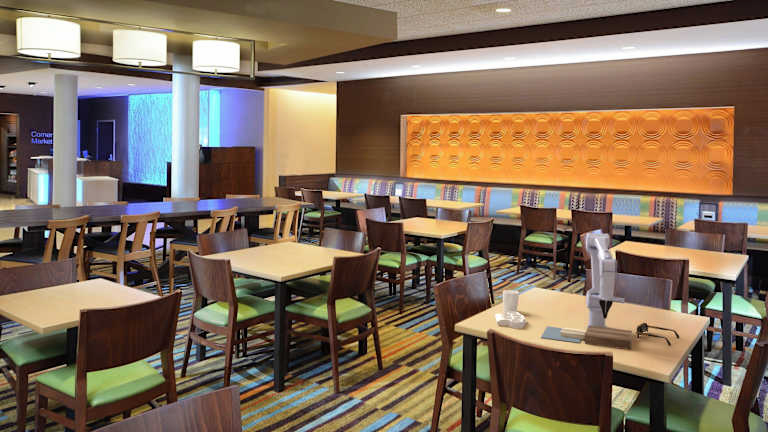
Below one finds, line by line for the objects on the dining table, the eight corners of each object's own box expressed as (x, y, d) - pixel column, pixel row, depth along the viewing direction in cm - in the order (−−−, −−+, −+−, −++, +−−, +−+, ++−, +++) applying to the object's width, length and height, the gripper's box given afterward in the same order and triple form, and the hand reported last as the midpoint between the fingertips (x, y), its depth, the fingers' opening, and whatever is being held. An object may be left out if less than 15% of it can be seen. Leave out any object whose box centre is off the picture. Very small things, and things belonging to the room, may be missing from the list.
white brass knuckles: (494, 317, 294) (524, 318, 292) (497, 328, 276) (530, 329, 274) (494, 310, 293) (525, 311, 292) (497, 321, 275) (530, 322, 274)
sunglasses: (670, 347, 254) (671, 335, 253) (633, 339, 263) (634, 328, 263) (679, 339, 265) (680, 328, 264) (643, 332, 274) (643, 321, 274)
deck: (587, 332, 270) (588, 325, 270) (631, 338, 263) (631, 330, 263) (584, 343, 255) (585, 335, 255) (630, 349, 248) (631, 341, 248)
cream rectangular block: (562, 331, 270) (562, 327, 269) (585, 334, 266) (586, 330, 265) (560, 336, 263) (560, 331, 263) (584, 339, 259) (584, 334, 259)
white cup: (518, 309, 307) (519, 290, 306) (517, 313, 299) (518, 294, 298) (502, 308, 309) (503, 289, 308) (501, 312, 302) (502, 292, 300)
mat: (547, 327, 278) (547, 326, 278) (583, 331, 272) (583, 330, 272) (541, 338, 261) (541, 337, 261) (579, 343, 255) (579, 342, 255)
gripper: (588, 287, 258) (586, 317, 260) (624, 290, 253) (622, 322, 254) (589, 283, 265) (588, 313, 266) (625, 287, 259) (623, 318, 261)
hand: (605, 317), depth 261 cm, fingers closed
